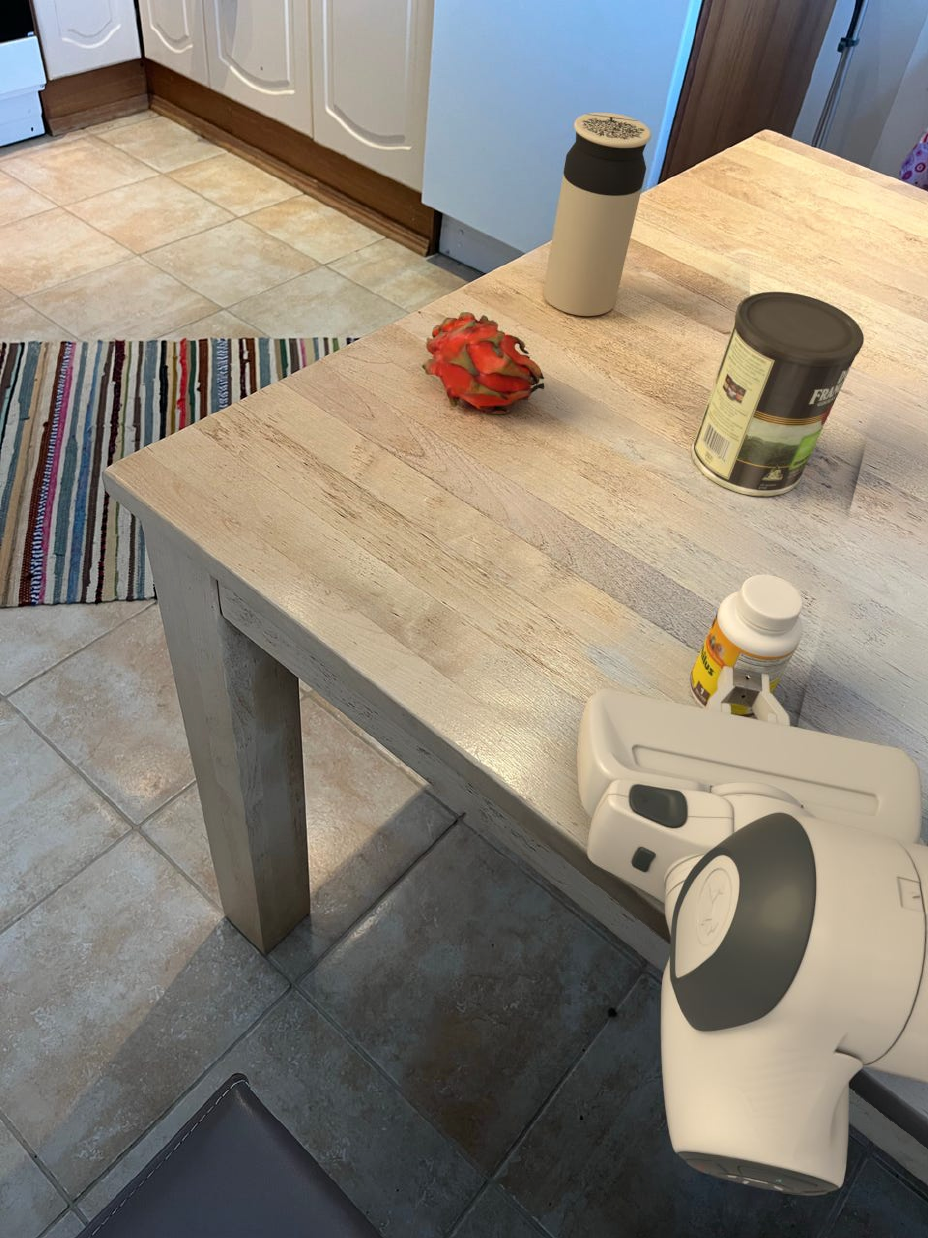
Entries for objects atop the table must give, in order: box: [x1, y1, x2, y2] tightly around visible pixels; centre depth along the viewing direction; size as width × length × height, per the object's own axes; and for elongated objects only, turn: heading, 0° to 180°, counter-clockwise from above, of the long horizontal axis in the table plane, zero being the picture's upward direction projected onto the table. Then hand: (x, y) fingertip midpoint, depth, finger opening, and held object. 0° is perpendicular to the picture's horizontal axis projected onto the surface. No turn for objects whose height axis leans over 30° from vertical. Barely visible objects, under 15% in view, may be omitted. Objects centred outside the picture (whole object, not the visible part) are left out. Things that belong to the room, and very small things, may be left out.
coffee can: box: [690, 291, 865, 498], centre depth 82 cm, size 10×10×14 cm
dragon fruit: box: [421, 311, 545, 415], centre depth 87 cm, size 8×8×12 cm
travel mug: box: [542, 112, 652, 317], centre depth 97 cm, size 8×8×18 cm
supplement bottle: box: [689, 573, 804, 719], centre depth 64 cm, size 6×6×10 cm
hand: (742, 675), depth 62 cm, fingers closed, pressing on supplement bottle
